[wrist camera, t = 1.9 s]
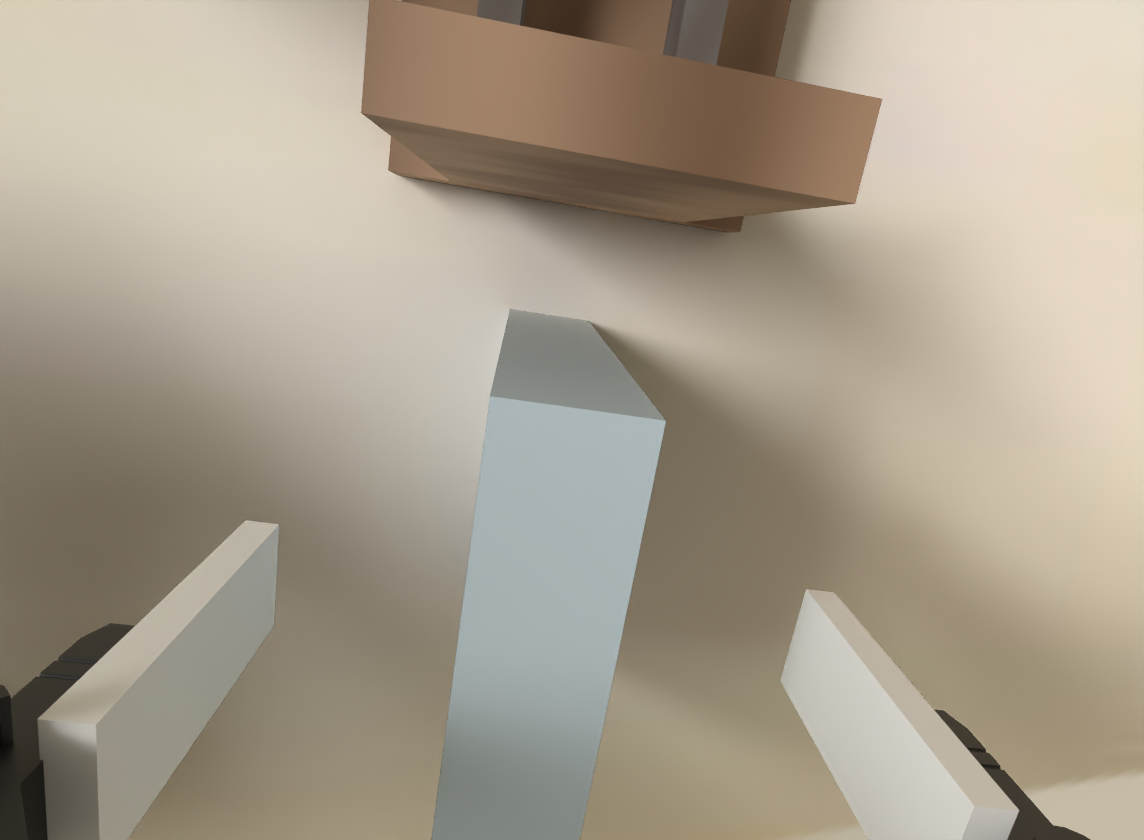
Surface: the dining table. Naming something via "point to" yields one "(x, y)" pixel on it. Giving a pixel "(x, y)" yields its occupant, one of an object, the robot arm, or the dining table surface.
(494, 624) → the door panel
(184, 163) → the dining table surface
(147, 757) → the robot arm
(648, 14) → the track frame
